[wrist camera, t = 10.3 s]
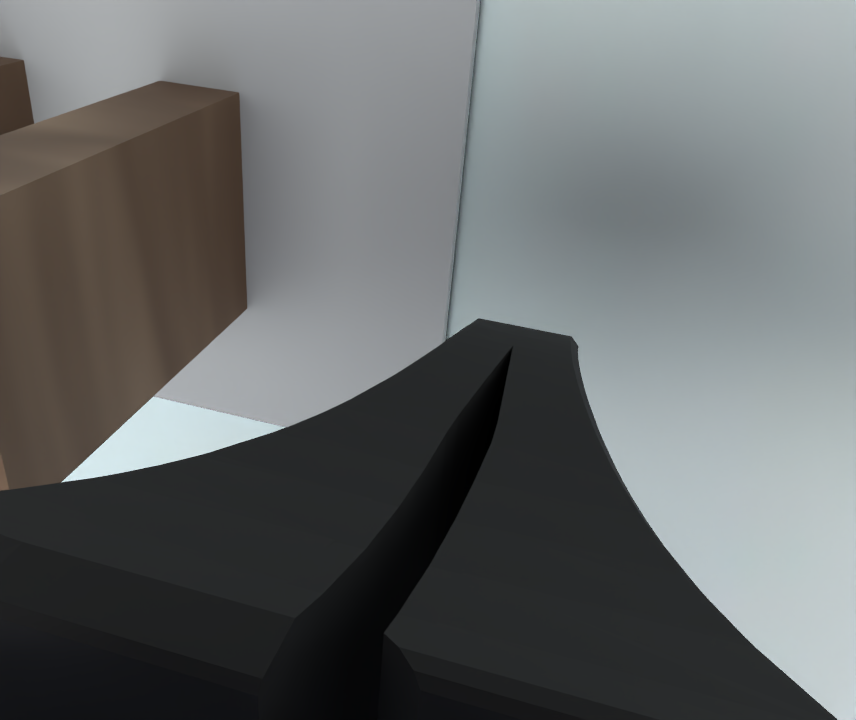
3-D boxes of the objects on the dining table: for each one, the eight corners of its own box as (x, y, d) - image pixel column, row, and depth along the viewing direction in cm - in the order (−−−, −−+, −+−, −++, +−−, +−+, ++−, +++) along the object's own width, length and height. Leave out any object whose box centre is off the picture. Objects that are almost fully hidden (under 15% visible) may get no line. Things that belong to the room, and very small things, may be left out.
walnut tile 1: (239, 92, 15) (-54, 219, 9) (247, 308, 17) (17, 523, 11) (159, 80, 15) (-175, 195, 9) (178, 294, 17) (-82, 496, 12)
